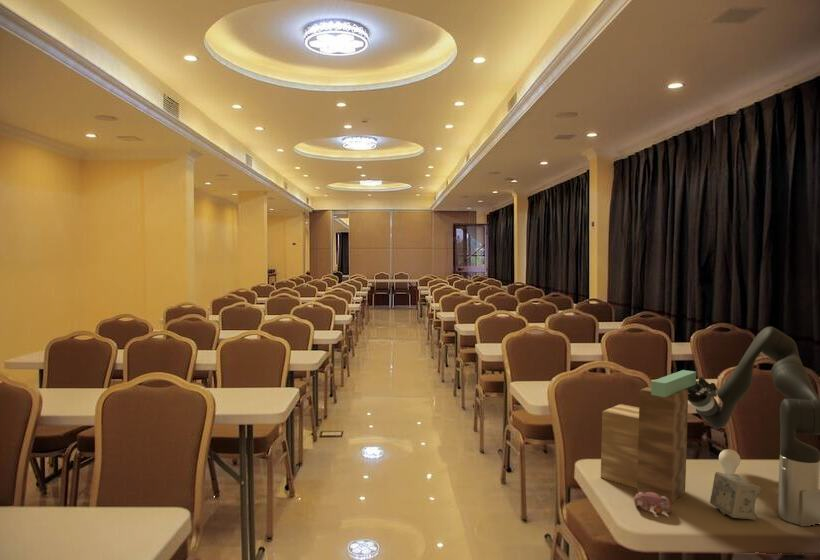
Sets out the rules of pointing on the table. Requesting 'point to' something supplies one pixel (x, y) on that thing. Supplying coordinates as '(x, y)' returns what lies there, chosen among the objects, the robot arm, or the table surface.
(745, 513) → the grey speckled block
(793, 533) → the table surface
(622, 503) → the table surface
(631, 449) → the oak block
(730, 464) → the lightbulb
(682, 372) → the bar
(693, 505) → the table surface
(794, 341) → the robot arm
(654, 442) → the walnut stand
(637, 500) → the pink animal figurine
